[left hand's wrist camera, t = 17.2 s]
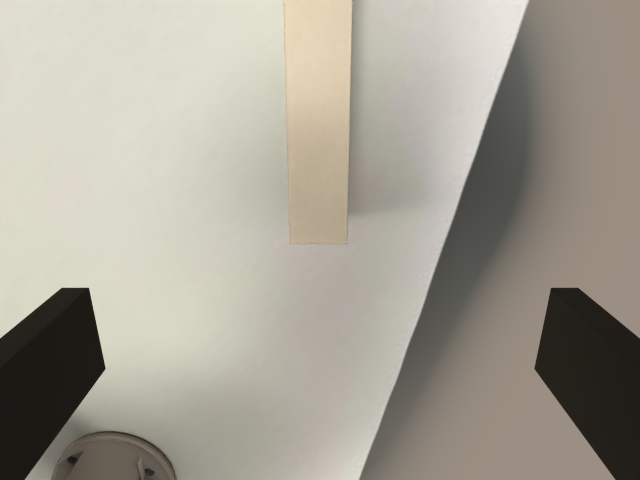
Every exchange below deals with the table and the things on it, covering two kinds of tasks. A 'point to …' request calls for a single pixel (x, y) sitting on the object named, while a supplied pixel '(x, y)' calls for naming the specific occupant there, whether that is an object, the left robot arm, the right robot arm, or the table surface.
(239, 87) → the table surface
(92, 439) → the left robot arm
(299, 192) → the beam
